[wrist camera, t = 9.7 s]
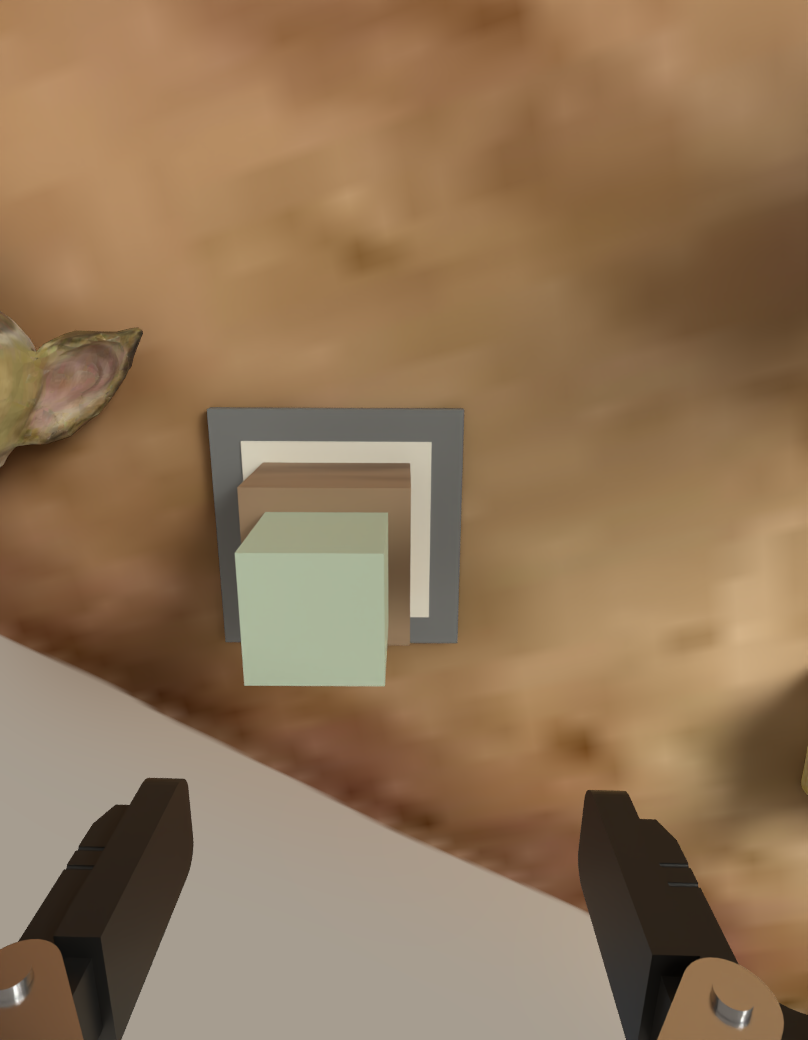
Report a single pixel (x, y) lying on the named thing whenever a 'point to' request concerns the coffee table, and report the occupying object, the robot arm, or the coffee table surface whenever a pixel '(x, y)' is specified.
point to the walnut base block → (342, 493)
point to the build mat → (353, 439)
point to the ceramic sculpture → (57, 382)
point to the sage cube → (314, 599)
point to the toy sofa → (805, 775)
